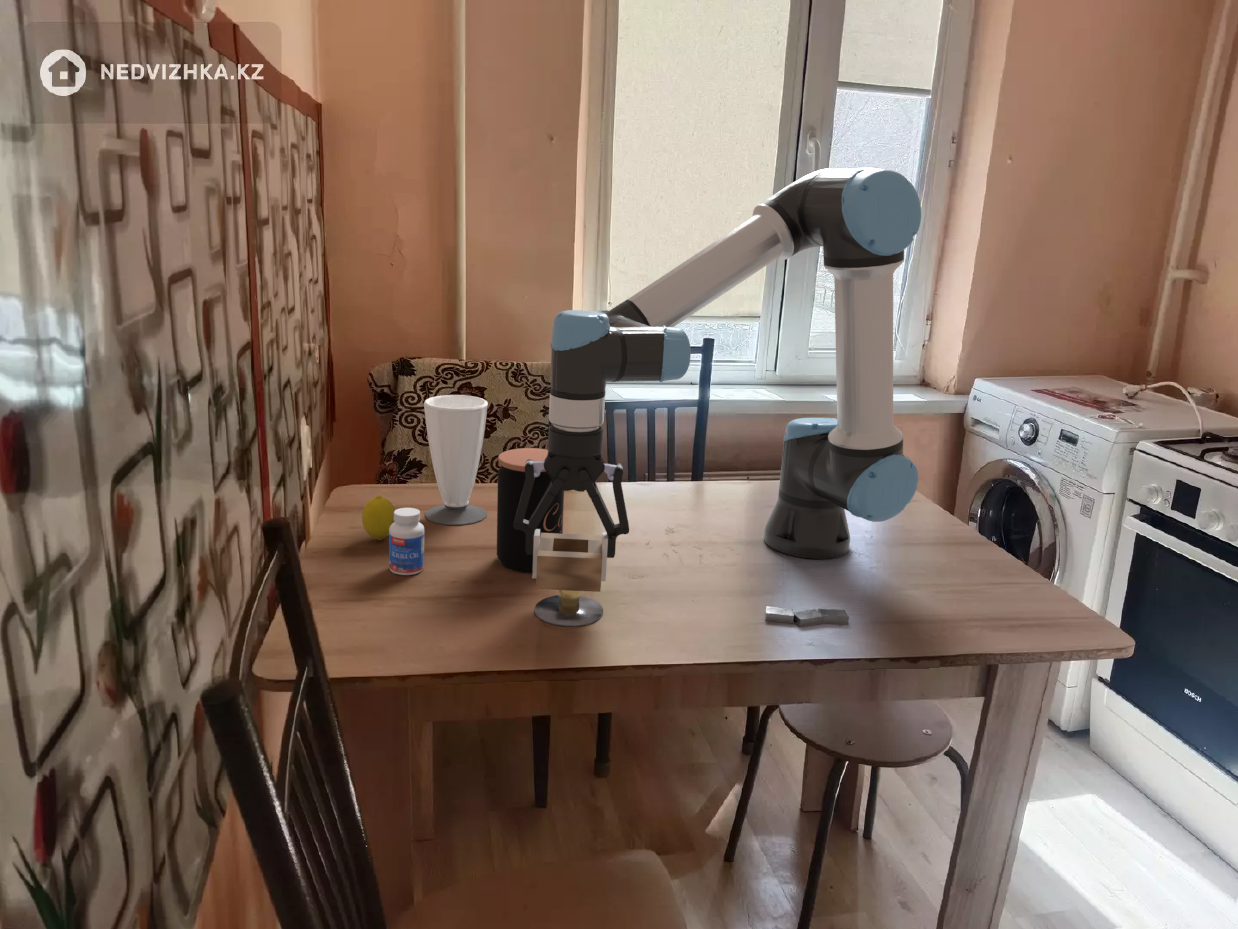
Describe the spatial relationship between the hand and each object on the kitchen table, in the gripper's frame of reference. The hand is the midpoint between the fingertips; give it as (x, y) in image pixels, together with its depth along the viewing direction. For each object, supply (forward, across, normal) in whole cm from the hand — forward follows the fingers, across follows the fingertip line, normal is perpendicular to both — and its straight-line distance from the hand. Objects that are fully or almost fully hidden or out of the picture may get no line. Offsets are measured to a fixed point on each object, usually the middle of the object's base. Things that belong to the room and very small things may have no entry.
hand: (569, 576), depth 132 cm
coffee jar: (+6, +7, -18) cm, 20 cm away
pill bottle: (+6, +26, -13) cm, 30 cm away
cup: (+6, +22, -39) cm, 45 cm away
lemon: (+6, +33, -25) cm, 42 cm away
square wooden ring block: (0, 0, 0) cm, 0 cm away
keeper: (+6, 0, 0) cm, 6 cm away
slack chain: (+5, -35, 0) cm, 36 cm away
